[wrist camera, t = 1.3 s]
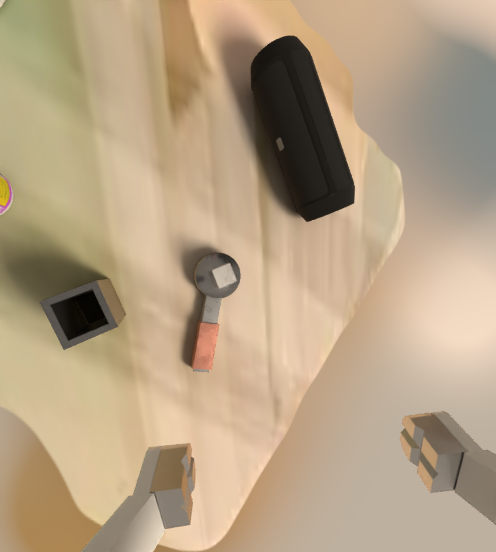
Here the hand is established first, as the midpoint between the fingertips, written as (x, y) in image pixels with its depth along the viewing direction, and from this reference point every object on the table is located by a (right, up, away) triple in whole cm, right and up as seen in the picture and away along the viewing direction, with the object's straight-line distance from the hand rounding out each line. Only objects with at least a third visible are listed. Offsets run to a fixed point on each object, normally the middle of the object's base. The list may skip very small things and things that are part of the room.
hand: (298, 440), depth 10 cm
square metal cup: (-23, +2, +28) cm, 37 cm away
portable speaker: (+5, +29, +39) cm, 48 cm away
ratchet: (-8, +1, +34) cm, 34 cm away
